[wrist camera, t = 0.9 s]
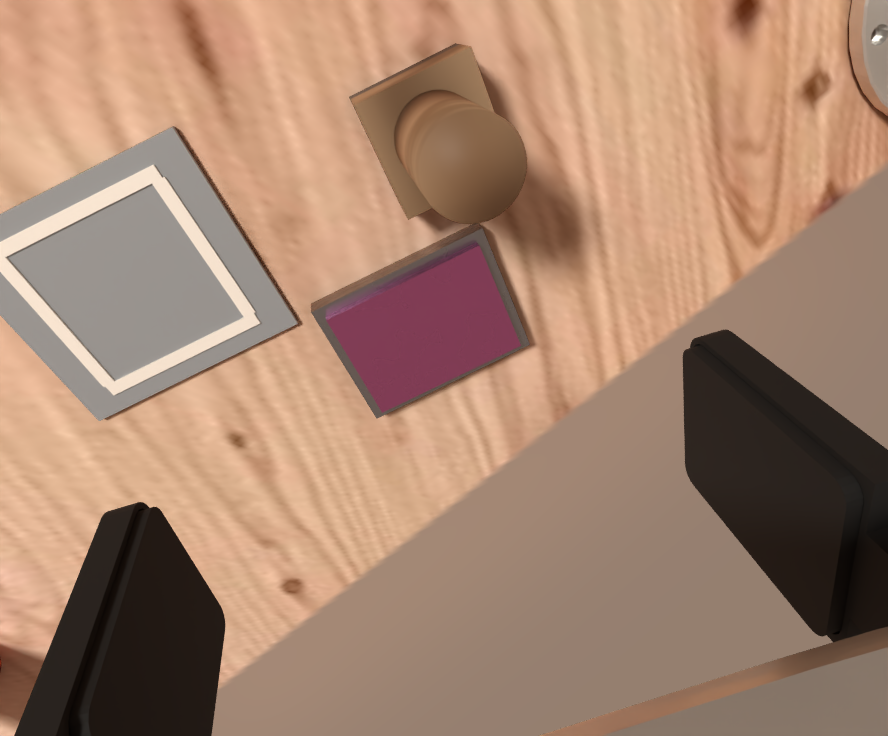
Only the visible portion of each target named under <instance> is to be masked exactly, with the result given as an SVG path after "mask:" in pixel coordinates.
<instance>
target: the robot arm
mask: <svg viewBox="0 0 888 736" xmlns="http://www.w3.org/2000/svg"><path fill="white" fill-rule="evenodd" d="M849 49H850V54H851V59H852V64H853V69H854V73H855V76H856V78H857V80H858V82H859V85H860V87H861V89H862V92H863V93H864V94H865V95H866V97H867V98H868V99H869V100H870V102H871V103H872V104H873V106H874V107H875V108H877V109H878V110H880V111H881V112H882V113H884V114H885V115H887V116H888V0H852V5H851V12H850V18H849ZM683 389H684V433H685V466H686V471H687V474H688V477H689V478H690V481H691V482H692V484H693V485H694V486H695V488H696V489H697V490H698V491H699V492H700V494H701V495H702V496H703V497H704V499H705V500H706V501H707V502H708V504H709V505H710V506H711V507H712V509H713V510H714V511H715V512H716V513H717V514H718V516H719V517H720V518H721V519H722V520H723V522H724V523H725V524H726V526H727V527H728V528H729V529H730V531H731V532H732V533H733V534H734V535H735V537H736V538H737V539H738V540H739V542H740V543H741V544H742V545H743V547H744V548H745V549H746V550H747V551H748V553H749V554H750V555H751V556H752V558H753V559H754V560H755V561H756V562H757V564H758V565H759V566H760V567H761V569H762V570H763V571H764V572H765V573H766V575H767V576H768V577H769V578H770V580H771V581H772V582H773V583H774V584H775V586H776V587H777V588H778V589H779V591H780V592H781V593H782V594H783V595H784V597H785V598H786V599H787V600H788V602H789V603H790V604H791V605H792V607H793V608H794V609H795V610H796V612H797V613H798V614H799V615H800V616H801V618H802V619H803V620H804V621H805V623H806V624H807V625H808V626H809V627H810V628H811V629H812V631H813V632H815V633H816V634H817V635H819V636H825V635H827V636H828V637H829V638H830V639H831V640H832V641H833V643H830V644H826V645H823V646H820V647H817V648H813V649H810V650H806V651H803V652H800V653H796V654H793V655H790V656H786V657H783V658H780V659H777V660H774V661H770V662H767V663H764V664H761V665H758V666H754V667H751V668H748V669H745V670H742V671H739V672H736V673H733V674H729V675H727V676H723V677H720V678H717V679H714V680H711V681H707V682H705V683H701V684H699V685H695V686H692V687H689V688H686V689H683V690H680V691H676V692H673V693H670V694H667V695H664V696H661V697H657V698H654V699H651V700H648V701H645V702H642V703H639V704H635V705H632V706H629V707H626V708H623V709H620V710H617V711H614V712H611V713H608V714H604V715H601V716H598V717H595V718H592V719H589V720H586V721H583V722H580V723H577V724H574V725H571V726H568V727H564V728H561V729H558V730H555V731H552V732H549V733H546V734H543V735H540V736H888V450H887V449H886V448H884V447H883V446H882V445H880V444H879V443H878V442H876V441H875V440H874V439H872V438H871V437H870V436H868V435H867V434H866V433H865V432H863V431H862V430H861V429H859V428H858V427H857V426H855V425H854V424H853V423H851V422H850V421H849V420H847V419H846V418H845V417H843V416H842V415H841V414H840V413H838V412H837V411H835V410H834V409H833V408H832V407H830V406H829V405H828V404H826V403H825V402H824V401H822V400H821V399H819V398H818V397H817V396H816V395H814V394H813V393H812V392H810V391H809V390H808V389H806V388H805V387H804V386H803V385H801V384H800V383H799V382H797V381H796V380H794V379H793V378H792V377H791V376H789V375H788V374H786V373H785V372H784V371H783V370H781V369H780V368H778V367H777V366H776V365H775V364H773V363H772V362H771V361H769V360H768V359H767V358H766V357H764V356H763V355H761V354H760V353H759V352H758V351H756V350H755V349H754V348H752V347H751V346H750V345H748V344H747V343H746V342H744V341H743V340H742V339H740V338H739V337H738V336H736V335H735V334H734V333H732V332H731V331H729V330H721V331H718V332H714V333H711V334H708V335H704V336H701V337H698V338H695V339H693V340H692V342H691V346H690V348H689V349H686V350H685V351H684V353H683ZM224 634H225V618H224V614H223V610H222V608H221V606H220V604H219V603H218V601H217V600H216V598H215V596H214V595H213V593H212V592H211V590H210V588H209V587H208V585H207V584H206V582H205V580H204V579H203V577H202V576H201V574H200V572H199V571H198V569H197V568H196V566H195V564H194V563H193V561H192V560H191V558H190V556H189V555H188V553H187V552H186V550H185V548H184V547H183V545H182V544H181V542H180V540H179V539H178V537H177V536H176V534H175V532H174V531H173V529H172V527H171V526H170V524H169V523H168V521H167V519H166V518H165V516H164V515H163V513H162V512H161V510H160V509H159V508H157V507H152V508H149V507H148V506H147V505H146V504H145V503H143V502H138V503H135V504H132V505H128V506H125V507H121V508H118V509H115V510H111V511H108V512H106V513H105V514H104V515H103V516H102V518H101V520H100V523H99V525H98V528H97V530H96V533H95V535H94V538H93V540H92V543H91V545H90V548H89V550H88V553H87V555H86V558H85V560H84V563H83V565H82V568H81V570H80V573H79V575H78V578H77V580H76V583H75V585H74V588H73V590H72V593H71V595H70V598H69V600H68V603H67V605H66V608H65V610H64V613H63V615H62V618H61V620H60V623H59V625H58V628H57V630H56V633H55V635H54V638H53V640H52V643H51V645H50V648H49V650H48V653H47V655H46V658H45V660H44V663H43V665H42V668H41V670H40V673H39V675H38V678H37V680H36V683H35V685H34V688H33V690H32V693H31V695H30V698H29V700H28V703H27V705H26V708H25V710H24V713H23V715H22V718H21V720H20V723H19V725H18V728H17V730H16V733H15V735H14V736H211V734H212V727H213V719H214V711H215V703H216V695H217V688H218V680H219V672H220V665H221V657H222V649H223V641H224Z"/></svg>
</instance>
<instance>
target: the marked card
mask: <svg viewBox="0 0 888 736" xmlns="http://www.w3.org/2000/svg"><path fill="white" fill-rule="evenodd" d="M0 316H1V317H2V318H3V319H4V320H5V321H6V322H7V323H8V324H9V325H10V326H11V327H12V328H13V329H14V330H15V332H16V333H17V334H18V335H19V336H20V337H21V338H22V339H23V340H24V341H25V342H26V343H27V344H28V345H29V347H30V348H31V349H32V350H33V351H34V352H35V353H36V354H37V355H38V356H39V357H40V358H41V359H42V360H43V362H44V363H45V364H46V365H47V366H48V367H49V368H50V369H51V370H52V371H53V372H54V373H55V374H56V375H57V376H58V378H59V379H60V380H61V381H62V382H63V383H64V384H65V385H66V386H67V387H68V388H69V389H70V390H71V391H72V393H73V394H74V395H75V396H76V397H77V398H78V399H79V400H80V401H81V402H82V403H83V404H84V405H85V406H86V408H87V409H88V410H89V411H90V412H91V413H92V414H93V415H94V416H95V417H96V418H97V419H98V420H99V421H101V420H103V419H105V418H107V417H109V416H111V415H113V414H115V413H117V412H119V411H121V410H123V409H125V408H127V407H129V406H131V405H133V404H135V403H137V402H139V401H141V400H143V399H145V398H147V397H149V396H151V395H154V394H156V393H158V392H160V391H162V390H164V389H166V388H168V387H170V386H172V385H174V384H176V383H178V382H180V381H182V380H184V379H186V378H188V377H190V376H192V375H194V374H196V373H198V372H200V371H202V370H204V369H207V368H209V367H211V366H213V365H215V364H217V363H219V362H221V361H223V360H225V359H227V358H229V357H231V356H233V355H235V354H237V353H239V352H241V351H243V350H245V349H247V348H249V347H251V346H253V345H255V344H257V343H259V342H262V341H264V340H266V339H268V338H270V337H272V336H274V335H276V334H278V333H280V332H282V331H284V330H286V329H288V328H290V327H292V326H294V325H296V324H298V321H297V319H296V318H295V316H294V314H293V313H292V311H291V310H290V308H289V307H288V305H287V303H286V302H285V300H284V299H283V297H282V296H281V294H280V292H279V291H278V289H277V288H276V286H275V285H274V283H273V281H272V280H271V278H270V277H269V275H268V274H267V272H266V270H265V269H264V267H263V266H262V264H261V262H260V261H259V259H258V258H257V256H256V255H255V253H254V251H253V250H252V248H251V247H250V245H249V244H248V242H247V240H246V239H245V237H244V236H243V234H242V233H241V231H240V229H239V228H238V226H237V225H236V223H235V222H234V220H233V218H232V217H231V215H230V214H229V212H228V211H227V209H226V207H225V206H224V204H223V203H222V201H221V200H220V198H219V196H218V195H217V193H216V192H215V190H214V189H213V187H212V185H211V184H210V182H209V181H208V179H207V177H206V176H205V174H204V173H203V171H202V170H201V168H200V166H199V165H198V163H197V162H196V160H195V159H194V157H193V155H192V154H191V152H190V151H189V149H188V148H187V146H186V144H185V143H184V141H183V140H182V138H181V137H180V135H179V133H178V132H177V130H176V129H175V127H174V126H173V127H171V128H169V129H167V130H165V131H163V132H161V133H159V134H157V135H155V136H153V137H151V138H149V139H147V140H145V141H143V142H141V143H139V144H137V145H135V146H133V147H131V148H130V149H128V150H126V151H124V152H122V153H120V154H118V155H116V156H114V157H112V158H110V159H108V160H106V161H104V162H102V163H100V164H98V165H96V166H94V167H92V168H90V169H88V170H86V171H84V172H82V173H80V174H78V175H76V176H74V177H72V178H70V179H68V180H66V181H64V182H62V183H60V184H58V185H56V186H55V187H53V188H51V189H49V190H47V191H45V192H43V193H41V194H39V195H37V196H35V197H33V198H31V199H29V200H27V201H25V202H23V203H21V204H19V205H17V206H15V207H13V208H11V209H9V210H7V211H5V212H3V213H1V214H0Z"/></svg>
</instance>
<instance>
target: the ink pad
mask: <svg viewBox="0 0 888 736" xmlns="http://www.w3.org/2000/svg"><path fill="white" fill-rule="evenodd" d="M311 313H312V314H313V316H314V318H315V319H316V321H317V322H318V324H319V326H320V327H321V329H322V331H323V332H324V334H325V335H326V337H327V339H328V340H329V342H330V344H331V345H332V347H333V348H334V350H335V352H336V353H337V355H338V356H339V358H340V360H341V361H342V363H343V365H344V366H345V368H346V369H347V371H348V373H349V374H350V376H351V378H352V379H353V381H354V382H355V384H356V386H357V387H358V389H359V391H360V392H361V394H362V395H363V397H364V399H365V400H366V402H367V404H368V405H369V407H370V408H371V410H372V412H373V413H374V415H375V417H376V418H379V417H381V416H383V415H385V414H387V413H389V412H392V411H394V410H396V409H398V408H400V407H402V406H404V405H406V404H408V403H410V402H412V401H414V400H416V399H418V398H421V397H423V396H425V395H427V394H429V393H431V392H433V391H435V390H437V389H439V388H441V387H443V386H445V385H448V384H450V383H452V382H454V381H456V380H458V379H460V378H462V377H464V376H466V375H468V374H470V373H472V372H474V371H477V370H479V369H481V368H483V367H485V366H487V365H489V364H491V363H493V362H495V361H497V360H499V359H501V358H503V357H506V356H508V355H510V354H512V353H514V352H516V351H518V350H520V349H522V348H524V347H526V346H528V345H530V343H529V341H528V339H527V336H526V334H525V331H524V329H523V326H522V324H521V321H520V319H519V316H518V314H517V312H516V309H515V307H514V304H513V302H512V299H511V297H510V294H509V292H508V289H507V287H506V285H505V282H504V280H503V277H502V275H501V272H500V270H499V267H498V265H497V262H496V260H495V258H494V255H493V253H492V250H491V248H490V245H489V243H488V240H487V238H486V235H485V233H484V231H483V228H482V227H481V226H480V225H479V223H475V224H472V225H470V226H468V227H466V228H464V229H462V230H460V231H458V232H456V233H454V234H452V235H450V236H448V237H446V238H444V239H442V240H440V241H438V242H436V243H434V244H432V245H430V246H428V247H426V248H424V249H422V250H420V251H418V252H416V253H413V254H411V255H409V256H407V257H405V258H403V259H401V260H399V261H397V262H395V263H393V264H391V265H389V266H387V267H385V268H383V269H381V270H379V271H377V272H375V273H373V274H371V275H369V276H367V277H365V278H363V279H361V280H359V281H357V282H354V283H352V284H350V285H348V286H346V287H344V288H342V289H340V290H338V291H336V292H334V293H332V294H330V295H328V296H326V297H324V298H322V299H320V300H318V301H316V302H314V303H312V304H311Z"/></svg>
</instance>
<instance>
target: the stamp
mask: <svg viewBox="0 0 888 736" xmlns="http://www.w3.org/2000/svg"><path fill="white" fill-rule="evenodd" d="M349 98H350V100H351V102H352V104H353V106H354V108H355V110H356V113H357V115H358V117H359V119H360V121H361V123H362V125H363V127H364V129H365V132H366V134H367V136H368V138H369V140H370V142H371V144H372V146H373V148H374V151H375V153H376V155H377V157H378V159H379V161H380V163H381V165H382V167H383V170H384V172H385V174H386V176H387V178H388V180H389V182H390V184H391V186H392V189H393V191H394V193H395V195H396V197H397V199H398V201H399V203H400V205H401V207H402V209H403V211H404V212H405V214H406V216H407V218H408V220H409V219H411V218H413V217H415V216H417V215H419V214H421V213H423V212H425V211H427V210H429V209H431V208H433V209H434V210H435V211H436V212H438V213H439V214H440V215H442V216H443V217H445V218H447V219H449V220H451V221H454V222H458V223H463V224H475V223H481V222H485V221H488V220H490V219H493V218H494V217H496V216H498V215H500V214H501V213H502V212H504V211H505V210H506V209H507V208H508V207H509V206H510V205H511V204H512V203H513V201H514V200H515V199H516V197H517V196H518V194H519V192H520V190H521V188H522V186H523V183H524V180H525V176H526V169H527V157H526V151H525V147H524V144H523V141H522V139H521V137H520V135H519V133H518V132H517V130H516V129H515V128H514V127H513V125H512V124H510V123H509V122H508V121H507V120H506V119H504V118H503V117H501V116H499V115H497V114H496V113H495V112H494V109H493V106H492V104H491V101H490V98H489V95H488V92H487V90H486V87H485V84H484V81H483V78H482V76H481V73H480V70H479V67H478V64H477V62H476V59H475V56H474V53H473V50H472V48H471V46H465V45H460V44H454V45H452V46H450V47H448V48H446V49H444V50H442V51H440V52H438V53H436V54H434V55H432V56H430V57H428V58H426V59H424V60H422V61H420V62H418V63H416V64H414V65H412V66H410V67H408V68H406V69H404V70H402V71H400V72H398V73H396V74H394V75H392V76H390V77H388V78H386V79H384V80H382V81H380V82H378V83H376V84H374V85H372V86H370V87H368V88H366V89H364V90H362V91H360V92H358V93H356V94H354V95H352V96H350V97H349Z"/></svg>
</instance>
